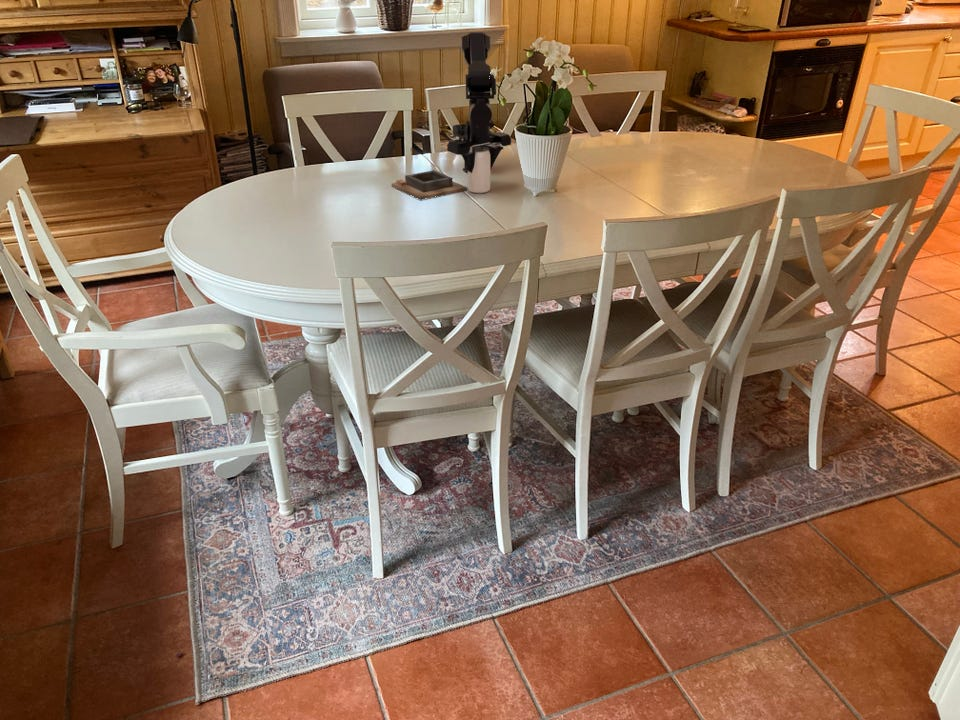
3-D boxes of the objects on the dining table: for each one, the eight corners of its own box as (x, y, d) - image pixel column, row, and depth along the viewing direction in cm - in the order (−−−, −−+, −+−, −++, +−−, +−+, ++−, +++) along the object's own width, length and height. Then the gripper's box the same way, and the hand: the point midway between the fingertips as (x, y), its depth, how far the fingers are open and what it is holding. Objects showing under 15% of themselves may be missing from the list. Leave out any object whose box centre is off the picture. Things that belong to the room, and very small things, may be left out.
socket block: (437, 177, 231) (437, 166, 229) (466, 190, 219) (466, 178, 218) (391, 186, 223) (391, 174, 221) (420, 200, 211) (419, 188, 210)
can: (474, 195, 216) (474, 153, 210) (464, 189, 221) (463, 147, 215) (494, 191, 218) (494, 150, 212) (483, 185, 223) (483, 145, 217)
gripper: (489, 108, 220) (489, 161, 227) (435, 117, 210) (437, 172, 218) (512, 115, 212) (512, 170, 220) (458, 124, 202) (459, 181, 210)
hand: (479, 173), depth 217 cm, fingers open, 6 cm apart
